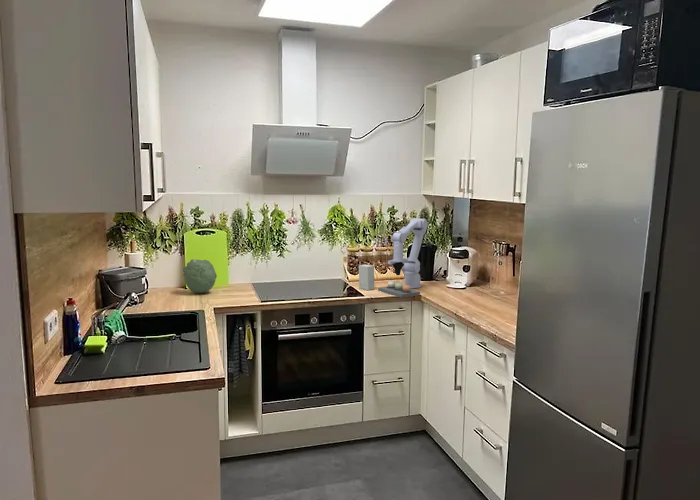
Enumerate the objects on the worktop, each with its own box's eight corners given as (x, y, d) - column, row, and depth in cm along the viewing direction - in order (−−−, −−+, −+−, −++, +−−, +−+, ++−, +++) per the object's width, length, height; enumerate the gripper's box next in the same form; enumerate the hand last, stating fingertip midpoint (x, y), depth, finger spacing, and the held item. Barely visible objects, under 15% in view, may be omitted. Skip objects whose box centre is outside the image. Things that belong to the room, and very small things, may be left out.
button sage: (399, 287, 305) (399, 282, 304) (404, 288, 301) (404, 283, 301) (393, 288, 302) (393, 283, 302) (398, 289, 299) (398, 284, 298)
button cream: (391, 285, 311) (392, 280, 310) (396, 286, 307) (396, 281, 307) (386, 286, 308) (386, 281, 308) (390, 287, 304) (390, 282, 304)
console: (396, 288, 315) (396, 284, 315) (419, 295, 297) (420, 291, 297) (378, 290, 307) (378, 287, 307) (401, 297, 289) (401, 294, 289)
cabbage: (215, 295, 288) (214, 261, 285) (180, 296, 285) (179, 261, 283) (219, 290, 303) (218, 257, 300) (186, 290, 301) (185, 257, 298)
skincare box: (374, 289, 311) (375, 265, 309) (367, 290, 307) (368, 266, 305) (364, 287, 317) (365, 263, 315) (358, 288, 313) (358, 264, 311)
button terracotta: (406, 289, 299) (407, 284, 299) (411, 291, 295) (411, 286, 295) (401, 290, 297) (401, 285, 296) (406, 291, 293) (406, 286, 293)
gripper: (403, 250, 310) (402, 272, 312) (384, 252, 302) (384, 275, 304) (410, 252, 305) (410, 274, 306) (392, 254, 296) (391, 277, 298)
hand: (397, 275), depth 305 cm, fingers closed
